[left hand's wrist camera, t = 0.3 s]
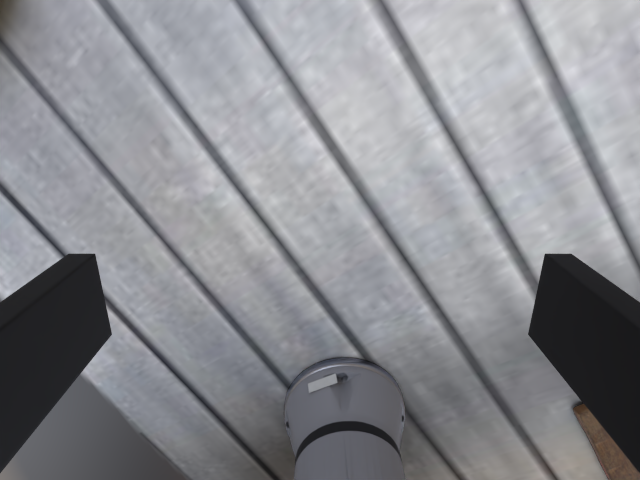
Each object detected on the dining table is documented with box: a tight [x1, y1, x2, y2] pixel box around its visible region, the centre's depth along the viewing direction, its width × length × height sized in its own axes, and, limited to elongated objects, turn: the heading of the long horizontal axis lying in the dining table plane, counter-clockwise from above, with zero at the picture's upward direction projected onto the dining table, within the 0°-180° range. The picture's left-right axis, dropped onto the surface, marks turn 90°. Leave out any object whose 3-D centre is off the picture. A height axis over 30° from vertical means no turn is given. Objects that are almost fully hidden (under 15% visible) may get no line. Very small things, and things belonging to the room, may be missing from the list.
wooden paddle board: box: [573, 404, 640, 480], centre depth 55 cm, size 26×2×10 cm
